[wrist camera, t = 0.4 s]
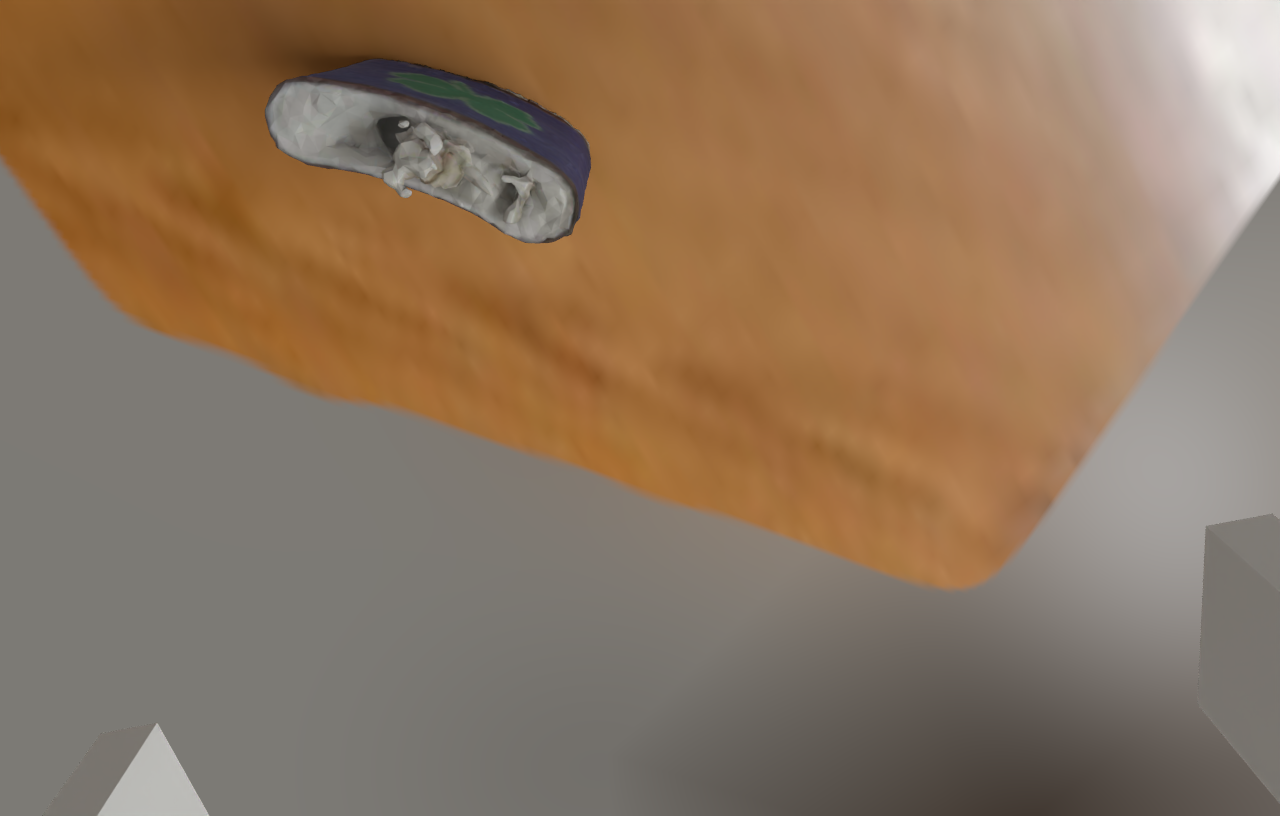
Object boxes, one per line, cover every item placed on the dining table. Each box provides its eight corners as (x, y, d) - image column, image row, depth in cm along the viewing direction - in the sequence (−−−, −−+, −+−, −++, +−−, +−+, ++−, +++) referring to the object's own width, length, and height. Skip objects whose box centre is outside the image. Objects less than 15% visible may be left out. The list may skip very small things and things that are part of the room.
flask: (341, 114, 33) (227, 158, 24) (360, 34, 32) (248, 44, 23) (579, 200, 35) (565, 274, 25) (604, 125, 34) (600, 173, 24)
